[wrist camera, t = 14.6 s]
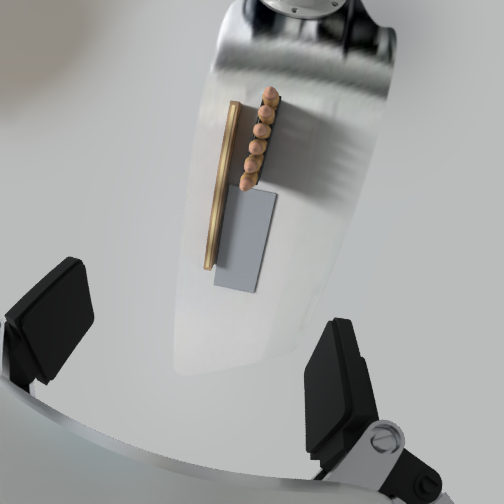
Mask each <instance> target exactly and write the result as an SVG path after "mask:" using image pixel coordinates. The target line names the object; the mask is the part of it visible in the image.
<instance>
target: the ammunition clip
mask: <svg viewBox="0 0 504 504" xmlns="http://www.w3.org/2000/svg"><path fill="white" fill-rule="evenodd" d="M280 103H281V96H279V94H278V92H277V91H276V89H275V88H273V87H267V88H266V89H265V90H264V93H263V99H262V102H261V106H260V109H259V111H258V117H257V121H256V124H255V127H254V129H253V136H252V139H251V143H250V144H249V151H248V155H247V159H246V160H245V165H244V170H243V174H242V176H241V179H240V185H239V186H240V189H241V190H242V191H244V192H246V191H248V190H250V189H251V188H252V187H254V186H255V185H257V184H258V182H259V179H260V176H261V172H262V168H263V165H264V161H265V157H266V154H267V150H268V146H269V143H270V139H271V135H272V132H273V128H274V125H275V121H276V117H277V114H278V110H279V107H280ZM259 118H260V119H259ZM258 120H259V123H258ZM254 135H255V138H254ZM253 139H254V140H253ZM250 152H251V153H250ZM249 154H250V156H249Z"/></svg>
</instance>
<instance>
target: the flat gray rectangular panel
mask: <svg viewBox="0 0 504 504" xmlns="http://www.w3.org/2000/svg"><path fill="white" fill-rule="evenodd" d="M275 196H276V193H271V192H267V191H262V190H257V189H252V188H251V189H250V190H248V191H246V192H244V191H242V190H241V189H240V186H237V185H231V184H230V185H229V191H228V196H227V202H226V208H225V214H224V220H223V227H222V233H221V239H220V246H219V252H218V259H217V266H216V272H215V279H214V285H217V286H221V287H226V288H230V289H235V290H240V291H245V292H250V293H254V289H255V285H256V281H257V276H258V272H259V268H260V263H261V259H262V254H263V250H264V246H265V241H266V237H267V232H268V228H269V223H270V219H271V214H272V210H273V205H274V201H275Z"/></svg>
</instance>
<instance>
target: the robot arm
mask: <svg viewBox="0 0 504 504" xmlns="http://www.w3.org/2000/svg"><path fill="white" fill-rule="evenodd" d="M260 1H261V2H262V3H263V4H264V5H266V6H267V7H268V8H270V9H272V10H274V11H275V12H277V13H280V14H283V15H285V16H289V17H294V18H301V19H316V18H322V17H325V16H328V15H331V14H333V13H335V12H337V11H338V10H339V9H340V8H341V7H342V6H343V4H344V3H345V1H346V0H260ZM293 12H296V13H293ZM5 317H6V320H7V321H6V322H5V323H4V321H3V319H2V318H1V317H0V504H454V503H453V501H452V500H451V499H450V497H449V496H448V495H447V493H446V492H445V493H443V494H442V492H441V490H442V480H441V477H440V475H439V474H438V473H437V472H436V471H435V470H434V469H432V468H431V467H429V466H428V465H426V464H425V463H424V462H422V461H421V460H420V459H418V458H417V457H415V456H414V455H413V454H411V453H410V452H409V451H407V450H406V449H405V448H404V445H405V438H404V434H403V432H402V430H401V429H400V427H398V426H397V425H396V424H395V423H393V422H391V421H388V420H379V417H378V412H377V408H376V403H375V398H374V394H373V389H372V385H371V381H370V377H369V373H368V369H367V365H366V361H365V359H364V358H363V357H361V356H360V352H359V348H358V344H357V340H356V337H355V333H354V329H353V326H352V322H351V320H349V319H343V318H334V319H333V321H328V323H327V325H326V327H325V329H324V331H323V333H322V335H321V338H320V340H319V342H318V344H317V346H316V348H315V350H314V352H313V354H312V356H311V358H310V360H309V362H308V364H307V366H306V368H305V372H304V388H305V423H306V451H307V452H308V453H310V456H311V458H310V459H311V460H320V467H321V470H320V471H319V472H318V473H317V474H316V475H315V476H314V477H313V478H312V479H311V480H302V479H288V478H275V477H265V476H257V475H249V474H242V473H235V472H229V471H224V470H218V469H213V468H208V467H203V466H199V465H195V464H190V463H186V462H182V461H178V460H175V459H171V458H168V457H164V456H161V455H158V454H155V453H152V452H149V451H146V450H143V449H140V448H137V447H134V446H132V445H129V444H126V443H124V442H121V441H119V440H116V439H114V438H111V437H109V436H107V435H104V434H102V433H100V432H98V431H96V430H93V429H91V428H89V427H87V426H85V425H83V424H81V423H79V422H77V421H75V420H73V419H71V418H69V417H67V416H65V415H63V414H62V413H60V412H58V411H56V410H55V409H53V408H51V407H49V406H48V405H46V404H44V403H43V402H41V401H39V400H38V399H36V398H35V391H34V383H33V381H34V379H35V378H37V380H38V381H40V382H42V383H43V384H45V385H47V384H48V383H49V381H50V380H53V379H54V378H55V377H56V375H57V373H58V372H59V371H60V369H61V368H62V366H63V365H64V363H65V362H66V360H67V359H68V357H69V356H70V355H71V353H72V352H73V350H74V349H75V347H76V346H77V345H78V343H79V342H80V340H81V339H82V338H83V336H84V335H85V334H86V332H87V331H88V329H89V328H90V327H91V325H92V324H93V322H94V312H93V307H92V303H91V298H90V292H89V286H88V281H87V274H86V268H85V265H84V264H83V262H82V260H80V259H77V258H73V257H67V258H66V259H64V260H63V261H62V262H61V263H60V264H59V265H57V266H56V267H55V268H54V269H53V270H52V271H50V272H49V273H48V274H47V275H46V276H45V277H44V278H43V279H41V280H40V281H39V283H37V284H36V285H35V286H34V287H33V288H32V289H31V290H30V291H29V292H28V293H26V294H25V295H24V296H23V297H22V298H21V299H20V300H19V301H18V302H17V303H16V304H15V305H14V306H13V307H12V308H11V309H10V310H9V311H8V312H7V313H6V314H5Z"/></svg>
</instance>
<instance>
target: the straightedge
mask: <svg viewBox="0 0 504 504" xmlns="http://www.w3.org/2000/svg"><path fill="white" fill-rule="evenodd" d="M241 105H242V104H241V103H240V102H237V101H230V106H229V111H228V116H227V121H226V127H225V132H224V138H223V143H222V149H221V154H220V160H219V166H218V172H217V178H216V184H215V191H214V197H213V204H212V210H211V217H210V224H209V231H208V238H207V246H206V254H205V261H204V269H205V270H209V271H211V269H212V267H213V265H214V262H215V255H216V248H217V242H218V235H219V229H220V222H221V216H222V210H223V204H224V198H225V192H226V186H227V180H228V174H229V169H230V163H231V157H232V152H233V147H234V141H235V136H236V131H237V125H238V120H239V115H240V110H241Z"/></svg>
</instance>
